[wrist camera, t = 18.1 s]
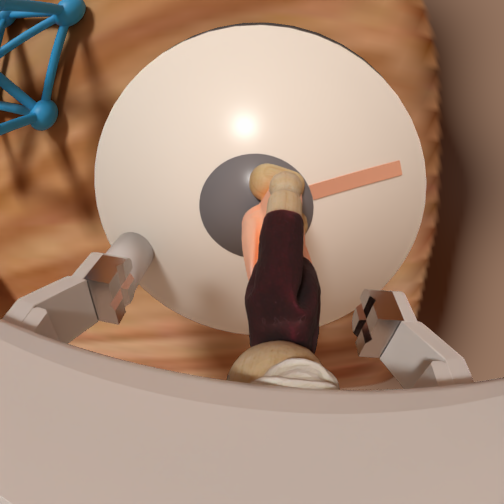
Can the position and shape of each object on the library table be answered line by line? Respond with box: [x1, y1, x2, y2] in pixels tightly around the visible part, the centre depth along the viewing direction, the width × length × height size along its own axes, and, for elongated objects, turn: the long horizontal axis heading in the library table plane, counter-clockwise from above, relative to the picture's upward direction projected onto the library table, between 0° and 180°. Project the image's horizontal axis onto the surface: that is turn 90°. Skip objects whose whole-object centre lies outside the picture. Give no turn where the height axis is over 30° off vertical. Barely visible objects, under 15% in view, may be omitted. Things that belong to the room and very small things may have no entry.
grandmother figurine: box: [227, 163, 340, 390], centre depth 10 cm, size 8×4×13 cm, turn 17°
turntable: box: [95, 25, 426, 335], centre depth 15 cm, size 19×19×6 cm
